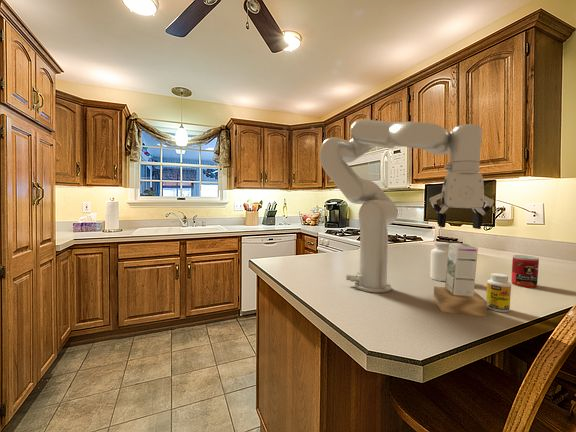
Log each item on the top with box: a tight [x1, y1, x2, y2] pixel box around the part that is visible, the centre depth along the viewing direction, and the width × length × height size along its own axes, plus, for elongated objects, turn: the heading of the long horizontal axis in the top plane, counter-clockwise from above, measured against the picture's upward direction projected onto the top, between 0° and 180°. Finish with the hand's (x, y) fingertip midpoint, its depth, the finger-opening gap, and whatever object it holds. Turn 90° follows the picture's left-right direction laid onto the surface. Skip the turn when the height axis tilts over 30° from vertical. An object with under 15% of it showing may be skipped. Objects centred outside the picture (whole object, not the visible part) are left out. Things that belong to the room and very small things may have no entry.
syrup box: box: [444, 242, 479, 297], centre depth 82 cm, size 6×6×14 cm
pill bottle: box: [429, 241, 450, 282], centre depth 114 cm, size 8×8×15 cm
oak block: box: [433, 286, 488, 317], centre depth 83 cm, size 11×11×4 cm
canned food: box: [511, 254, 540, 289], centre depth 107 cm, size 8×8×11 cm
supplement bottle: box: [485, 272, 512, 313], centre depth 82 cm, size 6×6×10 cm
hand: (458, 227), depth 83 cm, fingers open, 9 cm apart
